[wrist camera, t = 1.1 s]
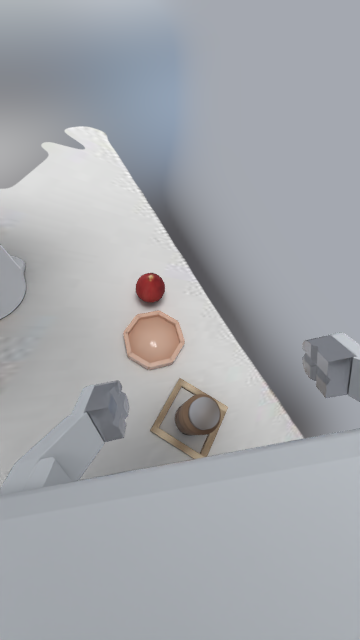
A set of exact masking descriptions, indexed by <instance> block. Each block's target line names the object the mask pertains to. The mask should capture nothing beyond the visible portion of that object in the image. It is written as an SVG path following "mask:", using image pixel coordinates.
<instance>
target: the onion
mask: <svg viewBox="0 0 360 640" xmlns="http://www.w3.org/2000/svg"><path fill="white" fill-rule="evenodd" d="M164 291H165V284H164V282H163V280H162V278H161V277H159V276H158V275H157V274H154V273H147V274H144V275H142V276H141V277H140V278H139V279H138V281H137V284H136V293H137V295H138V297H139V298H140V299H142V300H143V301H145V302H155V301H158V300H159V299H161V298H162V296H163V294H164Z"/></svg>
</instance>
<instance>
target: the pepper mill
mask: <svg viewBox="0 0 360 640" xmlns="http://www.w3.org/2000/svg"><path fill="white" fill-rule="evenodd" d="M220 419H221V412H220V408H219V406H218V404H217V402H216V401H215V400H214V399H213V398H212V397H210V396H208V395H205V394H198V395H195V396H193V397H191V398H190V399H189V400H188V401H186V402H185V403H184V404H183V405H182V406H180V407H179V408H178V410H177V412H176V415H175V422H176V426H177V428H178V429H179V430H180V431H181V432H182V433H184V434H186V435H206V434H209V433H212V432H213V431H214V430H215V429H216V428H217V427H218V425H219V423H220Z"/></svg>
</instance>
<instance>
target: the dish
mask: <svg viewBox="0 0 360 640" xmlns="http://www.w3.org/2000/svg"><path fill="white" fill-rule="evenodd" d="M123 334H124V339H125V344H126V349H127V355H128V357H129V359H131V360H133V361H134V362H136V363H138V364H139V365H141V366H143V367H144V368H146V369H147V370H148V369H149V370H152V369H156V368H160V367H164V366H168V365H172V364H173V362H174V361H175V359H176V357H177V356H178V354H179V352H180V351H181V349H182V347H183V345H184V342H185V341H184V338H183V334H182V331H181V328H180V324H179V322H178V321H177V320H175V319H173V318H172V317H170V316H168V315H166V314H165V313H163V312H161V311H153V312H148V313H142V314H137V315H136V316H135V317H134V319H133V320H132V321H131V323H130V324H129V325H128V327H127V328H126V329H125V331H124V333H123Z"/></svg>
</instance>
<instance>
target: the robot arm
mask: <svg viewBox="0 0 360 640" xmlns="http://www.w3.org/2000/svg"><path fill="white" fill-rule="evenodd" d="M24 270H25V262H24V261H23V260H22V259H20V258H18V257H15V256H12V255H9V254H8V253H7V251H6V250H5V249H4V248H3V247H2V246H1V244H0V319H1V318H3V317H5V316H7V315H8V314H10V313H11V312H12V311H13V310H14V309H15V308H16V307H17V306H18V305H19V304H20V303H21V301H22V299H23V297H24V295H25V292H26V282H25V278H24ZM303 350H304V351H305V352H306V353H305V355H304V356H303V358H302V360H303V367H304V370H305V372H306V374H307V375H308V377H309V378H310V379H312V380H314V381H316V387H317V388H318V389H319V390H320V392H321V393H322V394H323V395H324V397H325V398H330V397H336V396H341V395H347V394H348V395H349V396H350V397H352V398H354V399H356V400H357V401H359V402H360V345H359V344H358V343H357V342H355V341H354V340H352V339H351V338H350V337H349V336H347V335H345V334H344V333H342V332H339V333H335V334H330V335H328V336H323V337H319V338H314V339H310V340H305V341H304V342H303ZM121 390H122V385H121V383H120V381H118V380H116V381H111V382H106V383H101V384H96V385H91V386H86V387H85V388H83V390H82V392H81V395H80V397H79V399H78V401H77V403H76V405H75V408H74V410H73V412H72V414H71V415H70V416H67V417H66V418H65V419H64V420H63V421H62V422H60V423H59V424H58V425H57V426H56V427H55V428H54V429H53V430H52V431H50V432H49V433H48V434H47V435H46V436H45V437H44V438H43V439H42V440H40V441H39V442H38V443H37V444H36V445H35V446H34V447H33V448H31V449H30V450H29V451H28V452H27V453H26V454H25V455H24V456H23V457H21V458H20V459H19V460H18V461H17V462H16V463H15V464H14V466H13V468H12V469H11V471H10V473H9V475H8V476H7V478H6V480H5V481H4V483H3V485H2V487H1V488H0V640H360V428H359V429H353V430H348V431H342V432H337V433H332V434H326V435H321V436H315V437H310V438H305V439H299V440H294V441H288V442H283V443H278V444H272V445H267V446H262V447H256V448H251V449H245V450H240V451H235V452H229V453H224V454H219V455H213V456H208V457H203V458H197V459H192V460H187V461H181V462H176V463H170V464H165V465H160V466H154V467H149V468H144V469H138V470H133V471H128V472H122V473H117V474H112V475H106V476H101V477H95V478H90V479H85V480H79V479H80V477H81V476H82V474H83V473H84V472H85V470H86V469H87V467H88V466H89V465H90V463H91V462H92V460H93V459H94V458H95V456H96V455H97V453H98V452H99V451H100V449H101V448H102V446H103V445H104V442H107V441H112V440H116V439H121V438H124V434H125V429H126V422H125V419H126V417H127V416H128V413H129V403H128V399H127V396H126V394H124V393H123V392H121ZM78 480H79V481H78Z"/></svg>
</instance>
